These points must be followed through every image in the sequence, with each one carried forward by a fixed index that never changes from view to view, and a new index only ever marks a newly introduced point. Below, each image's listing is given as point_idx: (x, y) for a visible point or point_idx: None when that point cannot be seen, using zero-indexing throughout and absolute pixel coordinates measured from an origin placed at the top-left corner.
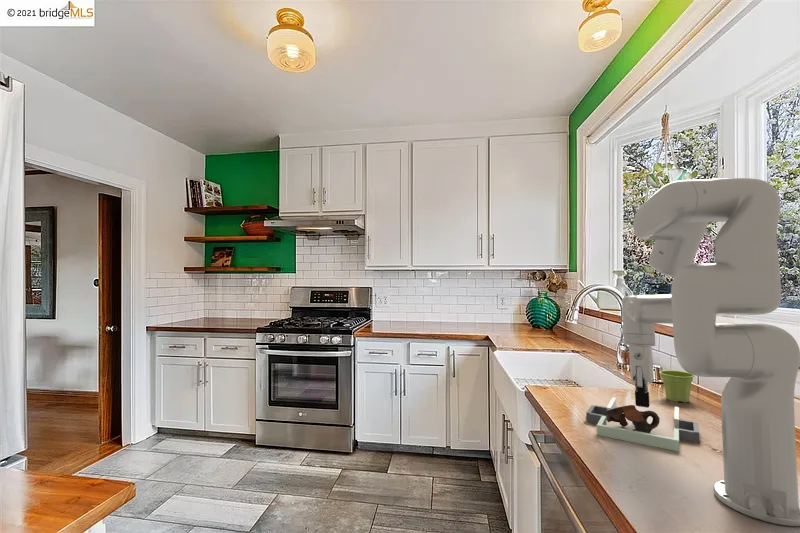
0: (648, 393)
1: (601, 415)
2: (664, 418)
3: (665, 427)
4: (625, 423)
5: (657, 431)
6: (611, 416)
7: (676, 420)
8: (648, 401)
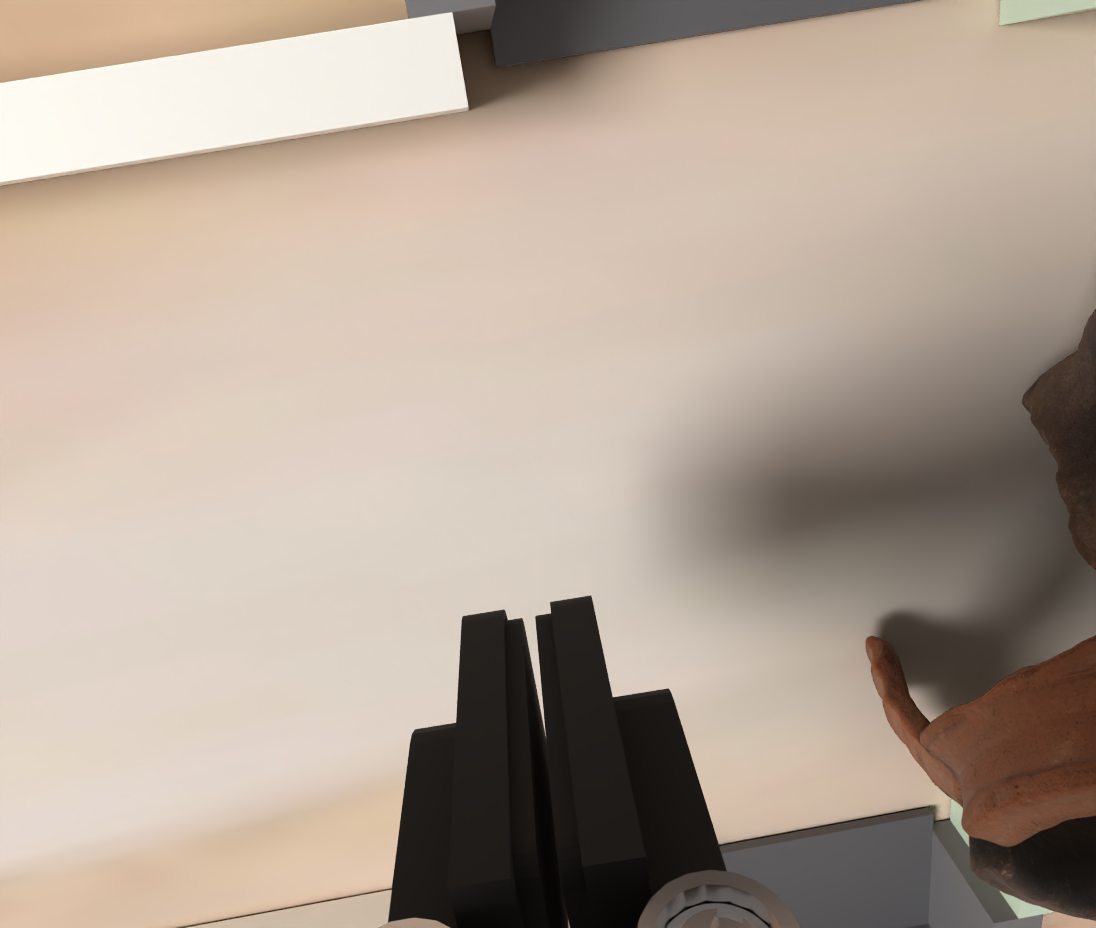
0: (641, 841)
1: (1026, 923)
2: (34, 351)
3: (529, 241)
4: (895, 666)
5: (808, 296)
6: (1087, 841)
7: (458, 66)
8: (607, 677)
